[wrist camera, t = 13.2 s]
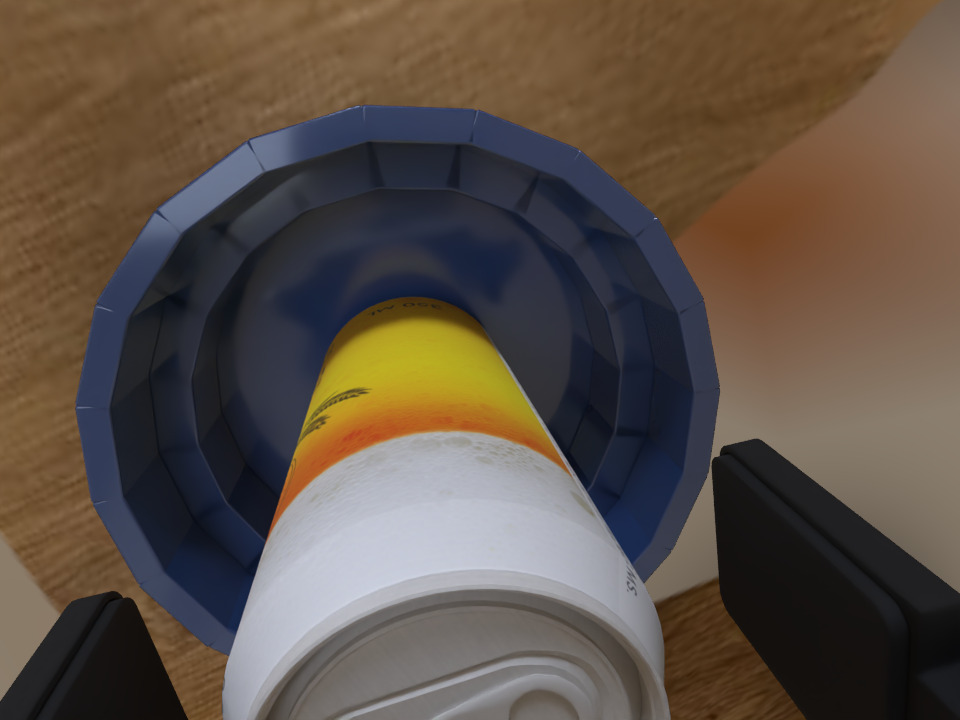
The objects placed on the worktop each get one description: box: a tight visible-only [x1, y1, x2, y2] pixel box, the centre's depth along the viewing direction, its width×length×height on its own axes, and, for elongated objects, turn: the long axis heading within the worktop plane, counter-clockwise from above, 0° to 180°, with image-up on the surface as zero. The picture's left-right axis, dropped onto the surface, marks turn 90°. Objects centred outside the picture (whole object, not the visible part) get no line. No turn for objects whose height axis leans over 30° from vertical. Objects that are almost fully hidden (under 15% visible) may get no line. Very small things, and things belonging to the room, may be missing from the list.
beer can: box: [222, 297, 671, 720], centre depth 15 cm, size 6×6×15 cm
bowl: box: [75, 105, 720, 656], centre depth 20 cm, size 17×17×6 cm
